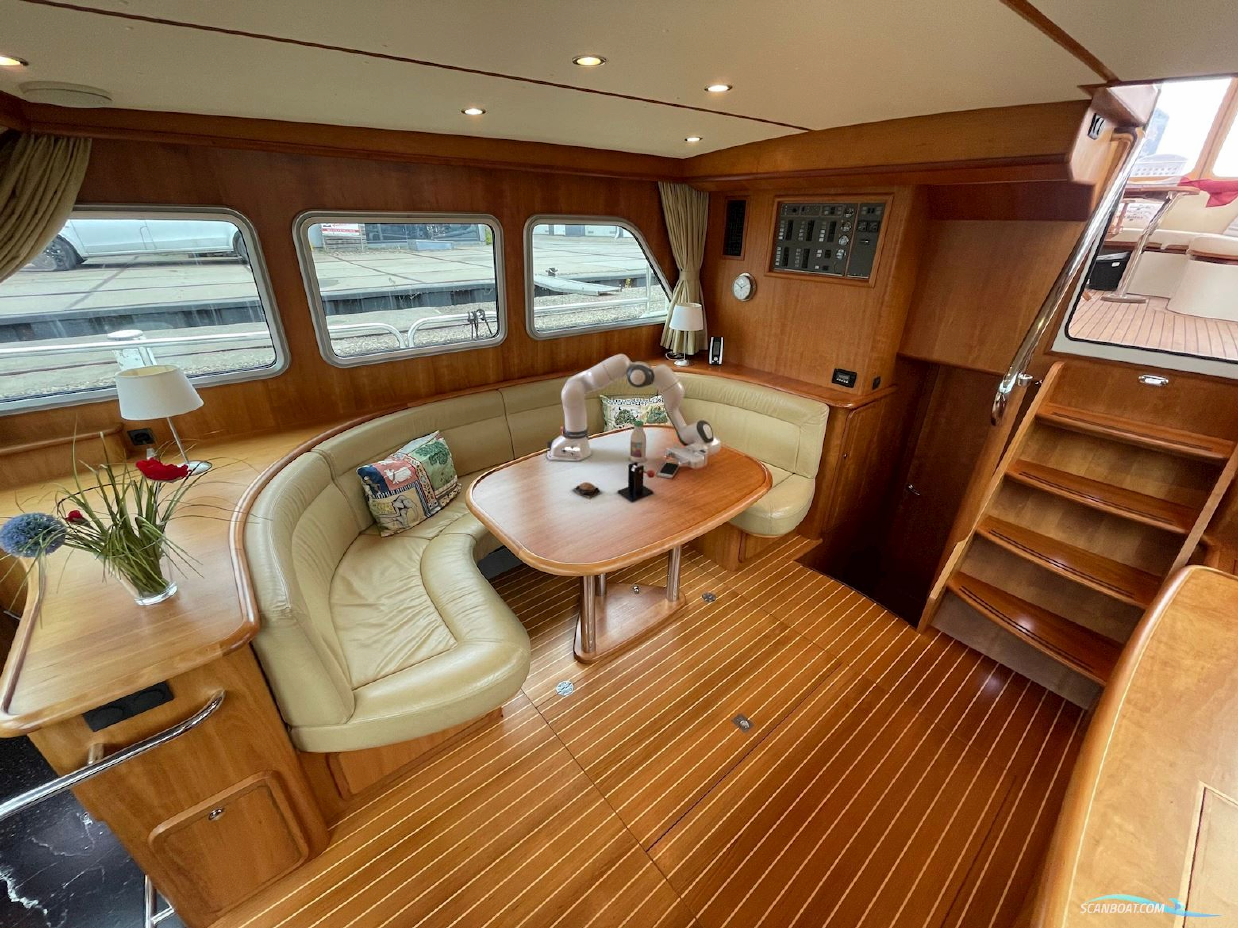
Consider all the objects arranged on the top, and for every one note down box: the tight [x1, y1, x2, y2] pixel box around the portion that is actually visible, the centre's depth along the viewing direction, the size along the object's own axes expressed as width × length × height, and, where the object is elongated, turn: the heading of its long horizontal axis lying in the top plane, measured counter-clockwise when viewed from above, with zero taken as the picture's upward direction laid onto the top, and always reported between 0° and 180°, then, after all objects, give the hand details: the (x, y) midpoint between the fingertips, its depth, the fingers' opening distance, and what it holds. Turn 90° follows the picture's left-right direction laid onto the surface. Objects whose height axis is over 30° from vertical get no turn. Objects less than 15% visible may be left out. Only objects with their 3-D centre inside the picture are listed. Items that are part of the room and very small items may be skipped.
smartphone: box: [657, 460, 680, 479], centre depth 229 cm, size 7×15×1 cm, turn 159°
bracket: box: [617, 461, 654, 503], centre depth 206 cm, size 12×10×14 cm
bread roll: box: [572, 482, 602, 499], centre depth 210 cm, size 11×8×4 cm
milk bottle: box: [629, 420, 647, 463], centre depth 236 cm, size 8×8×20 cm
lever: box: [631, 465, 656, 479], centre depth 208 cm, size 13×4×4 cm
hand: (671, 460), depth 217 cm, fingers open, 8 cm apart
